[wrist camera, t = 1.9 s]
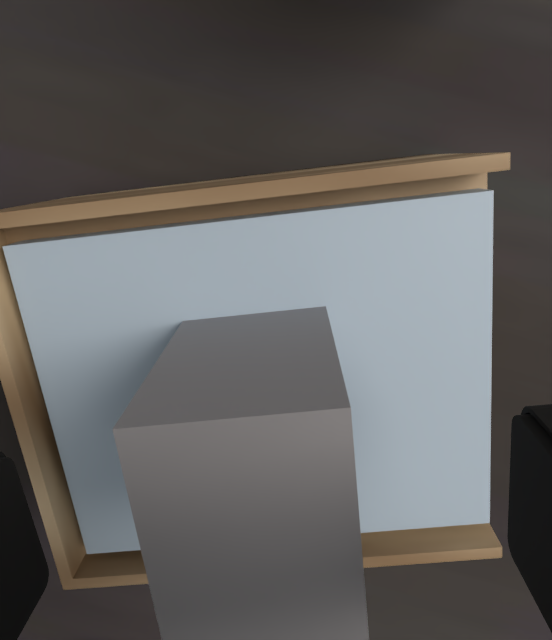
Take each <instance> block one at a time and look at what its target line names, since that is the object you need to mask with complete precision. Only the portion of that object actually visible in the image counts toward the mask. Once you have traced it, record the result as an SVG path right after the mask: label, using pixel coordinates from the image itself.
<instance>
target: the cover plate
mask: <svg viewBox="0 0 552 640" xmlns="http://www.w3.org/2000/svg"><path fill="white" fill-rule="evenodd" d="M493 192H494V190H488V189H481V188H477V189H468V190H460V191H451V192H442V193H433V194H425V195H416V196H407V197H399V198H390V199H381V200H372V201H364V202H355V203H346V204H337V205H329V206H320V207H311V208H302V209H294V210H285V211H276V212H267V213H259V214H250V215H241V216H232V217H224V218H215V219H206V220H197V221H189V222H180V223H171V224H162V225H154V226H145V227H136V228H127V229H119V230H110V231H101V232H92V233H84V234H75V235H66V236H57V237H49V238H40V239H31V240H22V241H18V242H15V243H12V244H9V245H5V246H2V247H3V251H4V254H5V258H6V262H7V265H8V269H9V272H10V276H11V280H12V283H13V287H14V291H15V294H16V298H17V302H18V305H19V309H20V313H21V316H22V320H23V323H24V327H25V331H26V334H27V338H28V342H29V345H30V349H31V353H32V356H33V360H34V363H35V367H36V371H37V374H38V378H39V382H40V385H41V389H42V393H43V396H44V400H45V403H46V407H47V411H48V414H49V418H50V422H51V425H52V429H53V433H54V436H55V440H56V444H57V447H58V451H59V454H60V458H61V462H62V465H63V469H64V473H65V476H66V480H67V484H68V487H69V491H70V494H71V498H72V502H73V505H74V509H75V513H76V516H77V520H78V524H79V527H80V531H81V535H82V538H83V542H84V545H85V549H86V553H87V554H96V553H109V552H122V551H135V550H141V553H142V557H143V562H144V566H145V570H146V574H147V579H148V583H149V587H150V591H151V595H152V600H153V604H154V608H155V612H156V617H157V621H158V625H159V629H160V634H161V638H162V640H369V632H368V620H367V607H366V594H365V582H364V569H363V556H362V544H361V533H367V532H380V531H393V530H406V529H419V528H432V527H445V526H458V525H471V524H484V523H490V454H491V366H492V279H493Z"/></svg>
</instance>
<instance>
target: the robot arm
mask: <svg viewBox="0 0 552 640" xmlns="http://www.w3.org/2000/svg"><path fill="white" fill-rule="evenodd" d="M508 544H509V549H510V552H511V555H512V558H513V560H514V562H515V564H516V566H517V567H518V569H519V571H520V573H521V575H522V577H523V579H524V581H525V583H526V585H527V586H528V588H529V590H530V592H531V594H532V596H533V598H534V600H535V602H536V604H537V605H538V607H539V609H540V611H541V613H542V615H543V617H544V619H545V621H546V623H547V624H548V626H549V628H550V630H551V632H552V404H549V405H537V406H525V407H524V408H523V410H522V413H521V415H515V416H514V417H513V419H512V431H511V458H510V486H509V514H508ZM48 576H49V571H48V566H47V562H46V559H45V556H44V553H43V550H42V547H41V544H40V541H39V538H38V535H37V532H36V529H35V526H34V522H33V519H32V516H31V513H30V510H29V507H28V504H27V501H26V498H25V495H24V492H23V489H22V486H21V483H20V479H19V476H18V473H17V470H16V467H15V464H14V462H13V461H12V460H11V459H10V458H8V457H7V458H6V456H5V455H4V454H3V453H2V452H0V640H17V638H18V637H19V635H20V633H21V631H22V630H23V628H24V626H25V624H26V622H27V621H28V619H29V617H30V615H31V613H32V612H33V610H34V608H35V606H36V605H37V603H38V601H39V599H40V597H41V596H42V594H43V592H44V590H45V588H46V586H47V582H48Z"/></svg>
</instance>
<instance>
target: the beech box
mask: <svg viewBox="0 0 552 640" xmlns="http://www.w3.org/2000/svg"><path fill="white" fill-rule="evenodd" d="M503 170H510V152H507V153H463V154H427V155H419V156H410V157H402V158H393V159H385V160H377V161H368V162H360V163H351V164H343V165H334V166H326V167H318V168H309V169H301V170H292V171H284V172H276V173H267V174H259V175H250V176H242V177H233V178H225V179H217V180H208V181H200V182H191V183H183V184H174V185H166V186H158V187H149V188H141V189H132V190H124V191H115V192H107V193H99V194H90V195H82V196H73V197H67V198H61V199H56V200H50V201H45V202H39V203H34V204H28V205H23V206H17V207H12V208H6V209H1V210H0V380H1V383H2V386H3V390H4V393H5V396H6V400H7V403H8V406H9V410H10V413H11V416H12V420H13V423H14V426H15V430H16V433H17V436H18V440H19V443H20V446H21V450H22V453H23V456H24V460H25V463H26V466H27V470H28V473H29V477H30V480H31V483H32V487H33V490H34V493H35V497H36V500H37V503H38V507H39V510H40V513H41V517H42V520H43V523H44V527H45V530H46V533H47V537H48V540H49V543H50V547H51V550H52V553H53V557H54V560H55V563H56V567H57V570H58V573H59V577H60V580H61V584H62V587H63V590H69V589H82V588H96V587H109V586H123V585H137V584H149V583H148V579H147V574H146V570H145V566H144V562H143V557H142V553H141V550H135V551H122V552H109V553H96V554H87V553H86V549H85V545H84V542H83V538H82V535H81V531H80V527H79V524H78V520H77V516H76V513H75V509H74V505H73V502H72V498H71V494H70V491H69V487H68V484H67V480H66V476H65V473H64V469H63V465H62V462H61V458H60V454H59V451H58V447H57V444H56V440H55V436H54V433H53V429H52V425H51V422H50V418H49V414H48V411H47V407H46V403H45V400H44V396H43V393H42V389H41V385H40V382H39V378H38V374H37V371H36V367H35V363H34V360H33V356H32V353H31V349H30V345H29V342H28V338H27V334H26V331H25V327H24V323H23V320H22V316H21V313H20V309H19V305H18V302H17V298H16V294H15V291H14V287H13V283H12V280H11V276H10V272H9V269H8V265H7V262H6V258H5V254H4V251H3V247H2V246H5V245H9V244H12V243H15V242H18V241H22V240H31V239H40V238H49V237H57V236H66V235H75V234H84V233H92V232H101V231H110V230H119V229H127V228H136V227H145V226H154V225H162V224H171V223H180V222H189V221H197V220H206V219H215V218H224V217H232V216H241V215H250V214H259V213H267V212H276V211H285V210H294V209H302V208H311V207H320V206H329V205H337V204H346V203H355V202H364V201H372V200H381V199H390V198H399V197H407V196H416V195H425V194H433V193H442V192H451V191H460V190H468V189H477V188H481V189H487V172H494V171H503ZM361 544H362V556H363V568H368V567H382V566H395V565H409V564H422V563H436V562H450V561H463V560H477V559H490V558H502V546H501V544H500V542H499V540H498V538H497V537H496V535H495V533H494V531H493V529H492V527H491V526H490V524H489V523H484V524H471V525H458V526H445V527H432V528H419V529H406V530H393V531H380V532H367V533H361Z"/></svg>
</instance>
